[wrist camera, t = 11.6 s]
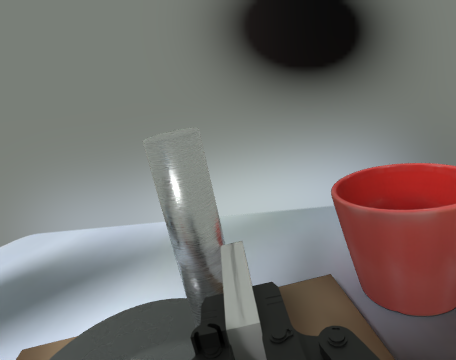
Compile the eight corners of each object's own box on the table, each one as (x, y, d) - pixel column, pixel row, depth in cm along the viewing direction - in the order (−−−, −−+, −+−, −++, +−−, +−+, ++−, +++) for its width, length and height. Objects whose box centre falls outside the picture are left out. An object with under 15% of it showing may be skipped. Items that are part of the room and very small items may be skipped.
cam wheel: (-188, 850, 9) (-866, 471, 4) (-13, 393, 23) (-127, 192, 19) (335, 472, 15) (285, 137, 10) (216, 292, 29) (173, 120, 25)
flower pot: (345, 250, 35) (336, 166, 32) (468, 255, 30) (470, 156, 27) (336, 321, 26) (323, 212, 23) (510, 343, 21) (521, 209, 18)
